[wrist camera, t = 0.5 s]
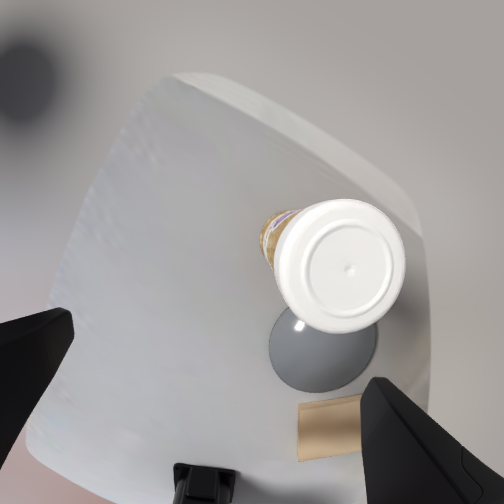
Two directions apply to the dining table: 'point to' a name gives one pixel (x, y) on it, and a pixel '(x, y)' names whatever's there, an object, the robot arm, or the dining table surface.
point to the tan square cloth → (329, 428)
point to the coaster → (317, 354)
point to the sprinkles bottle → (336, 263)
